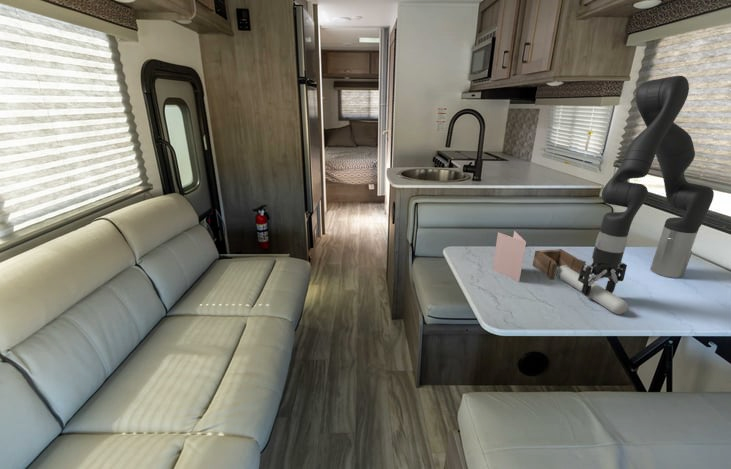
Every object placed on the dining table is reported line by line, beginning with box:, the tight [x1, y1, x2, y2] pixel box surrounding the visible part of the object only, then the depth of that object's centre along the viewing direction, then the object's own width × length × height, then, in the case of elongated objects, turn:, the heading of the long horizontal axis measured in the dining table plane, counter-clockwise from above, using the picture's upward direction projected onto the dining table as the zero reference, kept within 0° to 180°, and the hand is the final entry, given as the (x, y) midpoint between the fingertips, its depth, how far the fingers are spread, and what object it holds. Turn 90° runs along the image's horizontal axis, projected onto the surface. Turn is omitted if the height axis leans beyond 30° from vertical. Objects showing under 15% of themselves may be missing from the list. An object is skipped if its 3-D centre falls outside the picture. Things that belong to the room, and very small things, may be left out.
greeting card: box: [492, 230, 528, 283], centre depth 127 cm, size 11×7×15 cm, turn 178°
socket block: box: [532, 248, 587, 281], centre depth 132 cm, size 13×12×6 cm
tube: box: [555, 265, 628, 316], centre depth 116 cm, size 5×5×25 cm
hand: (596, 293), depth 114 cm, fingers open, 8 cm apart
